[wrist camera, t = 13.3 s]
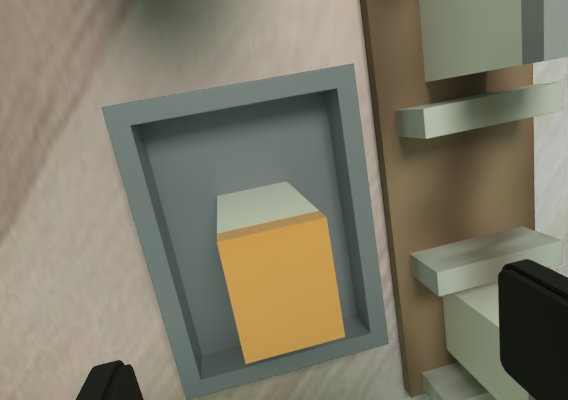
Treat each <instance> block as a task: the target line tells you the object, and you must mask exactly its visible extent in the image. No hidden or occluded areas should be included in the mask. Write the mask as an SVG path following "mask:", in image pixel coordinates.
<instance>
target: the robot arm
mask: <svg viewBox="0 0 568 400" xmlns="http://www.w3.org/2000/svg"><path fill="white" fill-rule="evenodd" d="M498 302H499V343H500V361H501V364H502V366H503V368H504V370H505V371H506V372H507V374H508V375H509V376H511V377H512V378H513V379H514V380H515V381H516V382H517V383H518V384H519V385H520V386H521V387H522V388H523V389H525V390H526V391H527V392H528V393H529V394H530V395H531V396H532V397H533V398H534V399H535V400H568V277H565V276H563V275H561V274H559V273H557V272H555V271H553V270H551V269H549V268H547V267H545V266H543V265H541V264H539V263H537V262H535V261H533V260H529V259H524V260H520V261H516V262H512V263H508V264H505V265H504V266H503V268H502V271H501V272H499V274H498ZM76 400H144V399H143V397H142V394H141V391H140V388H139V385H138V382H137V379H136V376H135V373H134V370H133V367H132V366H131V365H130V364H128V365H124V363H123V362H122V361H121V360H118V361H114V362H109V363H105V364H101V365H97V366H95V367H93V368H92V369H91V371H90V373H89V375H88V377H87V379H86V381H85V383H84V385H83V387H82V388H81V390H80V392H79V394H78V396H77V398H76Z"/></svg>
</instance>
